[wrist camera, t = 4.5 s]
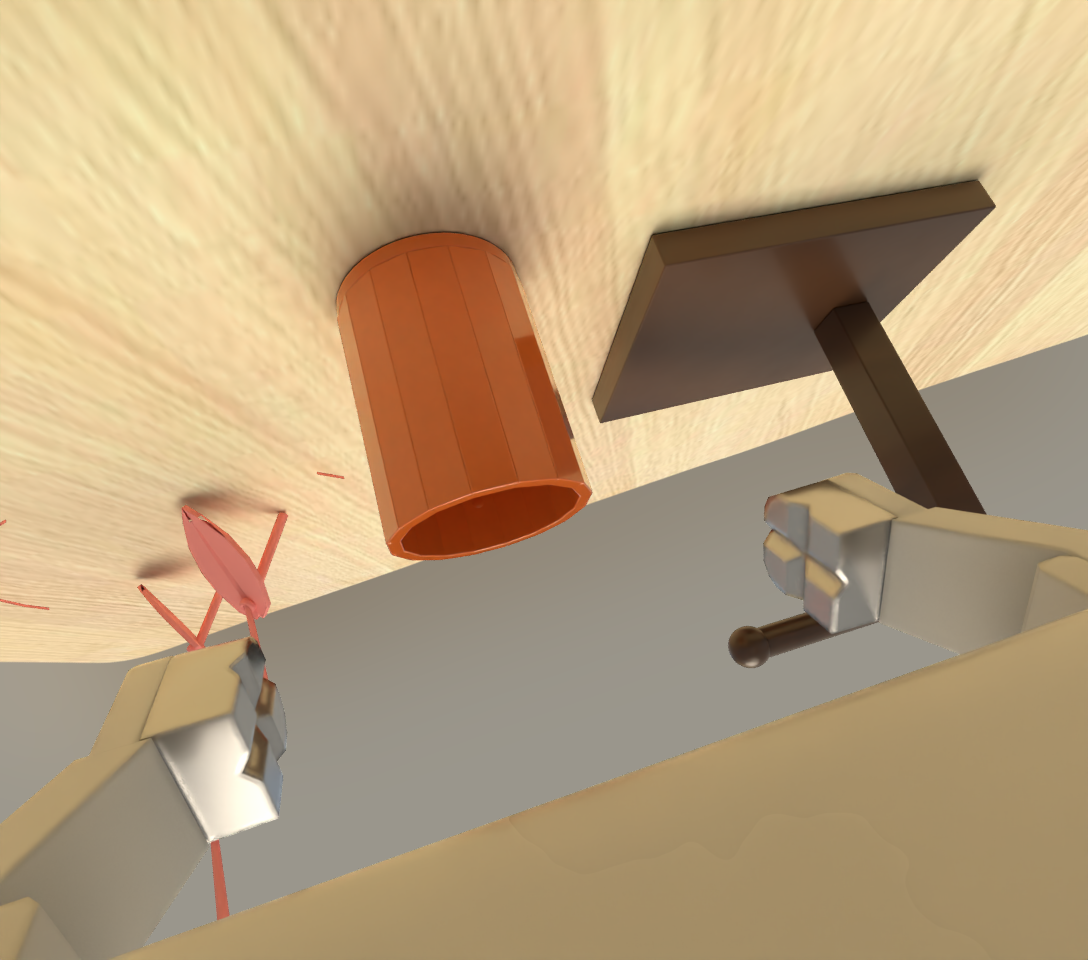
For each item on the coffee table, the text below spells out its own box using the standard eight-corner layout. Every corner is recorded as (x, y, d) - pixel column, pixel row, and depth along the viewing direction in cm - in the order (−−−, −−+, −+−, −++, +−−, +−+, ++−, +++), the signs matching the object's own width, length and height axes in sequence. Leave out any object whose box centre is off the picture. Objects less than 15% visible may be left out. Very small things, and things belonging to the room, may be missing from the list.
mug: (315, 249, 20) (372, 517, 17) (523, 217, 21) (609, 460, 18) (370, 415, 30) (411, 597, 27) (506, 386, 31) (560, 558, 28)
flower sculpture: (366, 448, 33) (564, 1349, 22) (206, 601, 49) (273, 1165, 38) (-30, 417, 22) (-46, 2210, 11) (-68, 627, 38) (-91, 1434, 27)
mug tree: (644, 235, 24) (911, 853, 17) (979, 179, 27) (1321, 684, 20) (580, 420, 38) (710, 795, 31) (803, 369, 41) (967, 701, 34)
